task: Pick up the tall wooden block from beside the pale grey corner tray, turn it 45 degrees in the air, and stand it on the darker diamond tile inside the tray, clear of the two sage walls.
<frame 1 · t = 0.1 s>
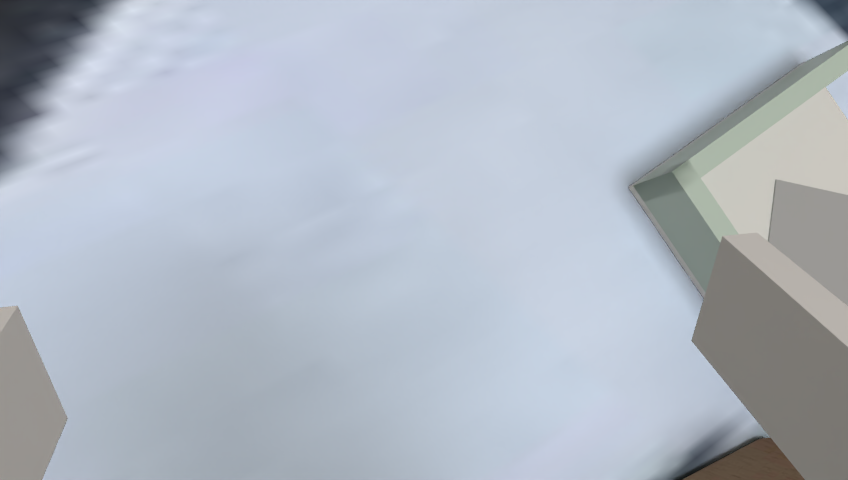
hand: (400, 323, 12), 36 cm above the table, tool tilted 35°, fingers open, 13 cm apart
corner tray: (795, 239, 53), on the table
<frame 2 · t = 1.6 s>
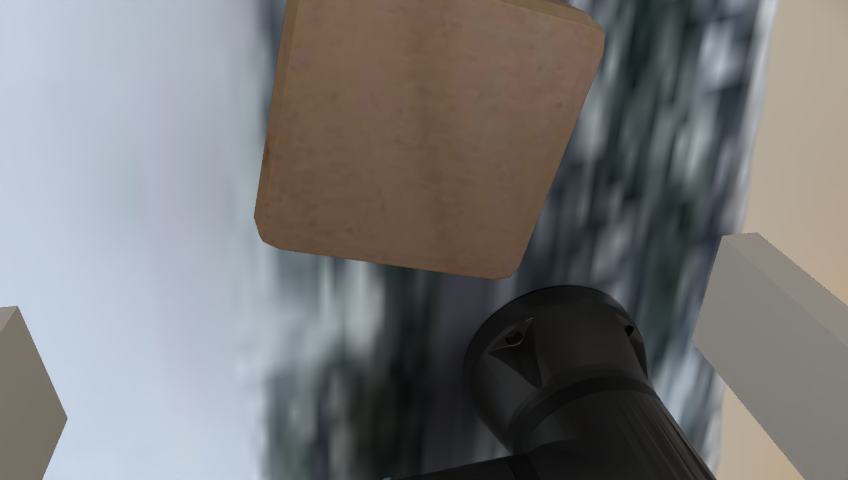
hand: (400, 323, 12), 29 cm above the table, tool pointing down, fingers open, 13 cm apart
wooden block: (370, 23, 37), on the table
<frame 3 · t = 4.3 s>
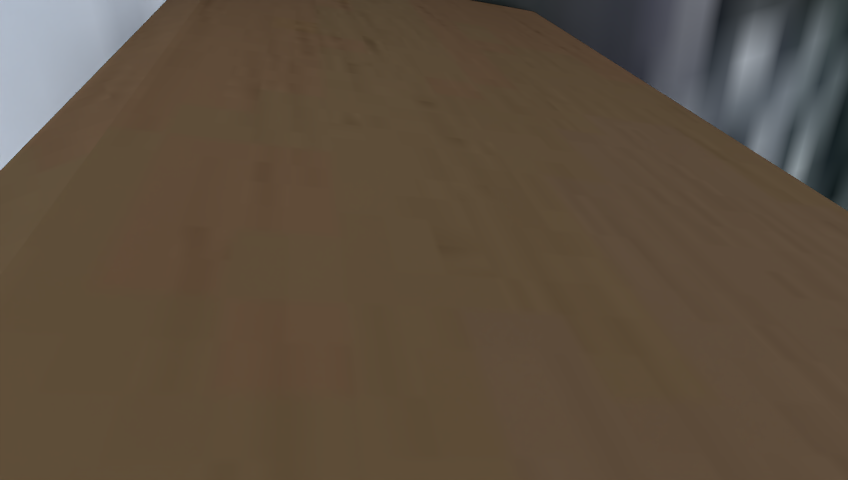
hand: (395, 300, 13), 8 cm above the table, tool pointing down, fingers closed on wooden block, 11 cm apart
wooden block: (361, 145, 19), on the table, touching gripper
when the fingers open (10 cm above the table, at t = 12.5 s): wooden block drops 1 cm, resting on corner tray.
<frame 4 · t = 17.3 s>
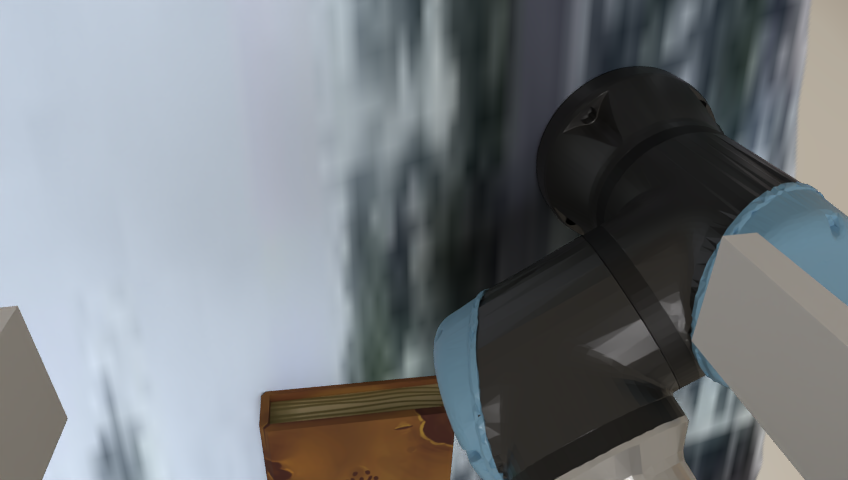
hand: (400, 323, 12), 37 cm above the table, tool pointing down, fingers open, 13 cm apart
diary: (357, 453, 69), on the table
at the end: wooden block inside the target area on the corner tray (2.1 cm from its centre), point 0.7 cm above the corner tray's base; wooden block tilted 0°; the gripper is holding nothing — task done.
